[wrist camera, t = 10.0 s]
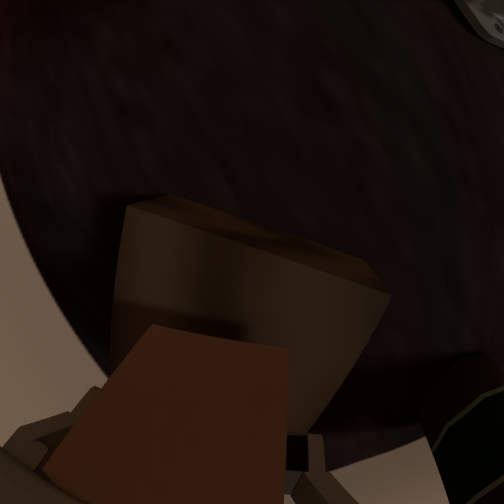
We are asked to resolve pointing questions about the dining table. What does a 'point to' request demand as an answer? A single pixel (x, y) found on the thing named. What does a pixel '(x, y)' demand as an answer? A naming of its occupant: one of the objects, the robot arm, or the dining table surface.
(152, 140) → the dining table surface
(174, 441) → the terracotta block
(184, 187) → the dining table surface
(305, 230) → the dining table surface
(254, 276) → the walnut block
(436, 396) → the beer bottle
